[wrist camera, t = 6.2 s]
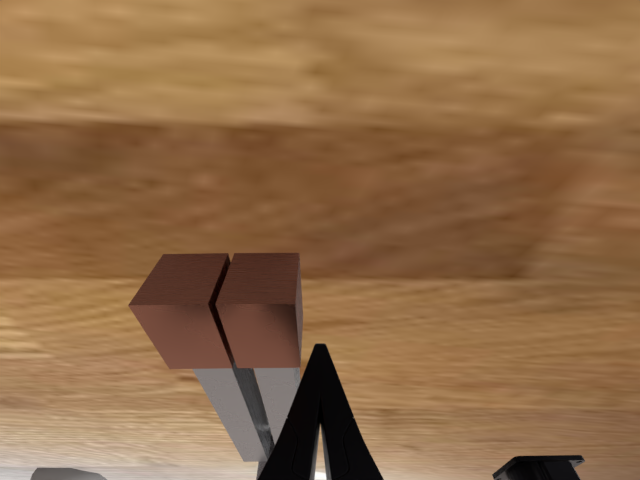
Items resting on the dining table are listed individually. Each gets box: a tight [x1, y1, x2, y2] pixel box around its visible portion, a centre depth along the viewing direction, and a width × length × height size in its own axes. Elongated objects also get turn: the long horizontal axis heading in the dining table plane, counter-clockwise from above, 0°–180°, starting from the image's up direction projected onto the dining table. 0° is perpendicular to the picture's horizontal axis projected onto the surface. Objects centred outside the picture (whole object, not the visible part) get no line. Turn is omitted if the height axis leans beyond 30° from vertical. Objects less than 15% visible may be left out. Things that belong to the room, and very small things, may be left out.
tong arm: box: [215, 253, 303, 480], centre depth 17 cm, size 22×4×3 cm, turn 0°
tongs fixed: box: [128, 253, 271, 462], centre depth 18 cm, size 26×4×3 cm, turn 1°
